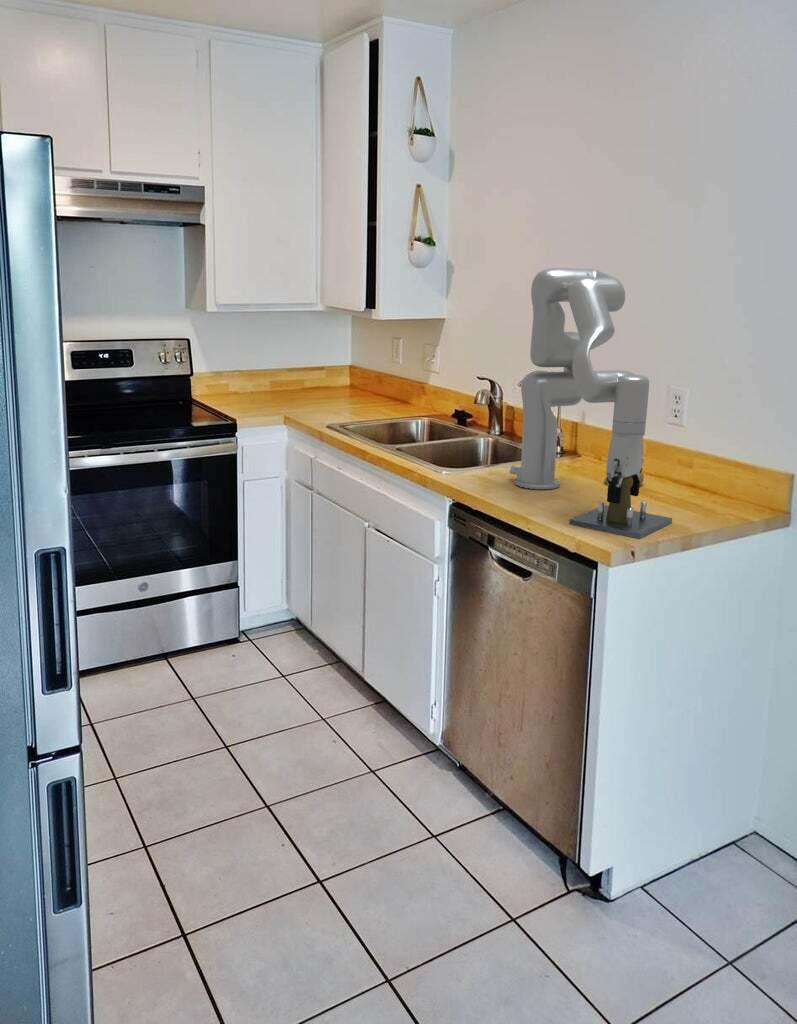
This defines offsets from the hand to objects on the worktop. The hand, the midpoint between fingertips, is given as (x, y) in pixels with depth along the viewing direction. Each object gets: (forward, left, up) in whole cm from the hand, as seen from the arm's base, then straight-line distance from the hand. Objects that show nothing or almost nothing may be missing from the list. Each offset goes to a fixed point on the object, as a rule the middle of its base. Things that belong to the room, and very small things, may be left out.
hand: (622, 498), depth 218 cm
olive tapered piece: (0, -1, -5) cm, 5 cm away
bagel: (-18, +39, -7) cm, 43 cm away
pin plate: (0, 0, -6) cm, 6 cm away
